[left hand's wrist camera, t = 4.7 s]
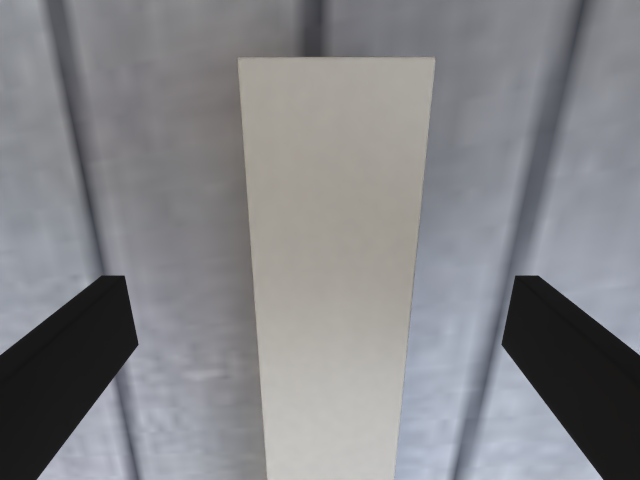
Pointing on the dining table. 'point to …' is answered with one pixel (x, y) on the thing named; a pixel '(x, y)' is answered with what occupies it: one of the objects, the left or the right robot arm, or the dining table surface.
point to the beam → (333, 253)
